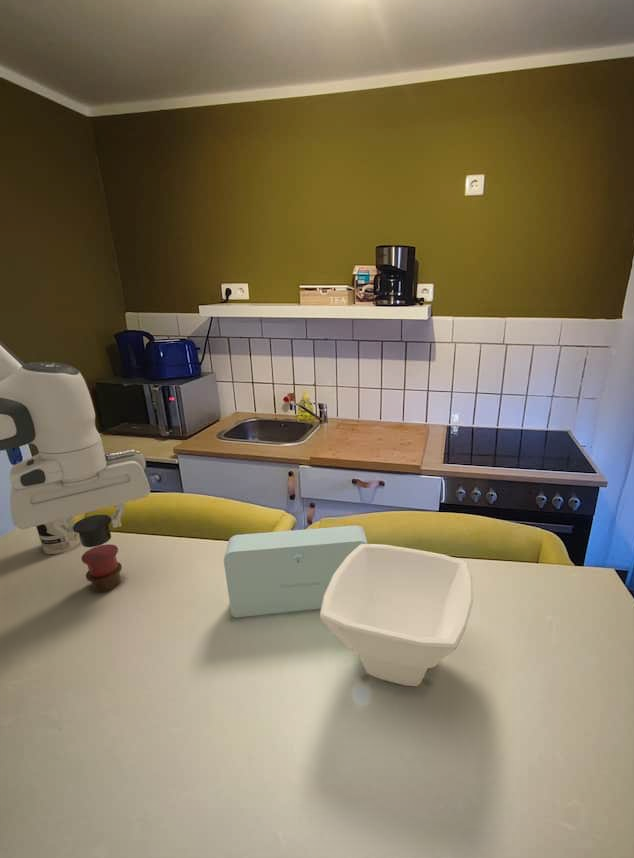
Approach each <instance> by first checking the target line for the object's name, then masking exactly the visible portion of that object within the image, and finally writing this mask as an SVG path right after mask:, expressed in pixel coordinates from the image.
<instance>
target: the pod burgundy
mask: <svg viewBox="0 0 634 858" xmlns="http://www.w3.org/2000/svg"><path fill="white" fill-rule="evenodd" d="M118 553H119V547H118V546H117V545H115V544H108V543H107V544H102V545H99V546H95V547H91V548H89V549H88V550H86V551H85V552H84V553H83V554H82V555H81V562H82V563H83V564H84V565H86V566H87V569H88V570H89V573H90V575H91V576H92V577H103V576H107V575H109V574H111V573H113V572H114V571H115V570H116V569H117V568H118V563H117V562H118V559H117V555H118Z"/></svg>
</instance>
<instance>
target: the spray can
mask: <svg viewBox="0 0 634 858" xmlns="http://www.w3.org/2000/svg"><path fill="white" fill-rule="evenodd" d="M74 517H75V516H73V517H69V518H65V519H63V525H65V526H66V527H67V528H69V527H73V526H74V524H75V523H76V521H75V518H74ZM35 527H36V531H37V534H38V538H39V540H40V542H41V547H42V550H43V552H44V553H45V554H48V555H57V554H62V553H66V552H68V551H70V550H72V549H75V548H76V547H77V546H78V545H79V543H80V542H81V539H80V536H79V533H76V532H75V531H74V532H75V535H76V539H73V540H70V541H66V539H65V535H64V534H63V533H61V532H60V531H59V530H57V529H56V528H54V526H53V523H52V522H50V523H46V524H42V525H39V526H35Z"/></svg>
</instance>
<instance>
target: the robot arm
mask: <svg viewBox="0 0 634 858" xmlns="http://www.w3.org/2000/svg"><path fill="white" fill-rule="evenodd" d="M26 445H34V446H35V447H36V448H37V451H38V453H37V454H35V455H33V456H31V457H29V458H26V459H24V460H22V461H20V462H18V463H15V464H14V465H13V466H12V467H11V469H10V471H9V480H10V483H11V488H10V493H9V506H10V507H9V508H10V515H11V519H12V522H13V525H14V526H15V528H17V529H20V530H28V529H31V528H34V527H36V526H39V525H42V524H46V523H50V522H52V523H53V526H54V528H56V529H57V530H59V531H60V532H61V533H63V534H64V535H65V539H66V541H70V540H73V539H76V535H75V532H74V530H73V527H69V528H67V527H66V526H65V525H63V519H65V518H69V517H77V516H81V515H84V514H88V513H91V512H95V511H99V510H103V509H108V508H111V507H115V513H114V515H109V516H110V518H111V522H110V524H111V527H112V529H115V528H119V527H122V525H123V524H122V520H121V518H122V516H123V513H124V511H125V508H126V507H125V504H126V503H130V502H134V501H138V500H141V499H146V498H148V496H149V495H150V493H151V487H150V484H149V483H150V482H149V481H148V478H147V475H146V473H145V471H144V470H145V469H146V467H147V462H146V457H145V455H144V454H143V453H142V451H140V450H135V449H130V448H129V449H125V450H123V451H116V452H110V453H105V449H104V445H103V440H102V437H101V434H100V433H99V431H98V430H97V427H96V412H95V408H94V404H93V400H92V397H91V394H90V390H89V388H88V385H87V383H86V379H85V378H84V376H83V375H82V373H81V371H79V370H78V369H77V368H76V367H73V366H72V365H69V364H67V363H61V362H56V361H55V362H54V361H42V362H41V361H37V362H35V361H34V362H29V363H25V362H24V361H23V360H22V359H21V358H19V357H18V355H16V354H15V353H14V352H13V350H11V349H9V347H8V346H6V345H5V344H4V343H3V342H2V341H1V340H0V452H3V451H6V450H11V449H16V448H20V447H23V446H26Z"/></svg>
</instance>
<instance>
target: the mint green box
mask: <svg viewBox="0 0 634 858" xmlns="http://www.w3.org/2000/svg"><path fill="white" fill-rule="evenodd" d="M360 544H369V543H368V539H367V536H366V533H365V529H364V528H363V527H362V526H360V525H357V524H355V525H343V526H331V527H318V528H306V529H304V528H303V529H296V530H295V529H292V530H280V531H271V532H270V531H268V532H260V533H259V532H255V533H243V534H235V535H233V536H231V537H230V538H229V540H228V543H227V546H226V550H225V554H224V558H223V566H224V573H225V579H226V586H227V594H228V599H229V601H228V602H229V608H230V613H231V615H232V617H233V618H244V617H253V616H263V615H272V614H283V613H291V612H292V613H293V612H300V611H309V610H321V607H322V602H323V597H324V594H325V592H326V590H327V588H328V585H329V583H330V581H331V579H332V577H333V574H334V573H335V572H336V570H337V569H338V568H339V566H340V565H341V564H342V562H343V561H344V560H345V558H346V557H347V556H348V555H349V554H350V553H351V552H352V551H354V550H355V549H356V548H357V547H358V546H359V545H360Z"/></svg>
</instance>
